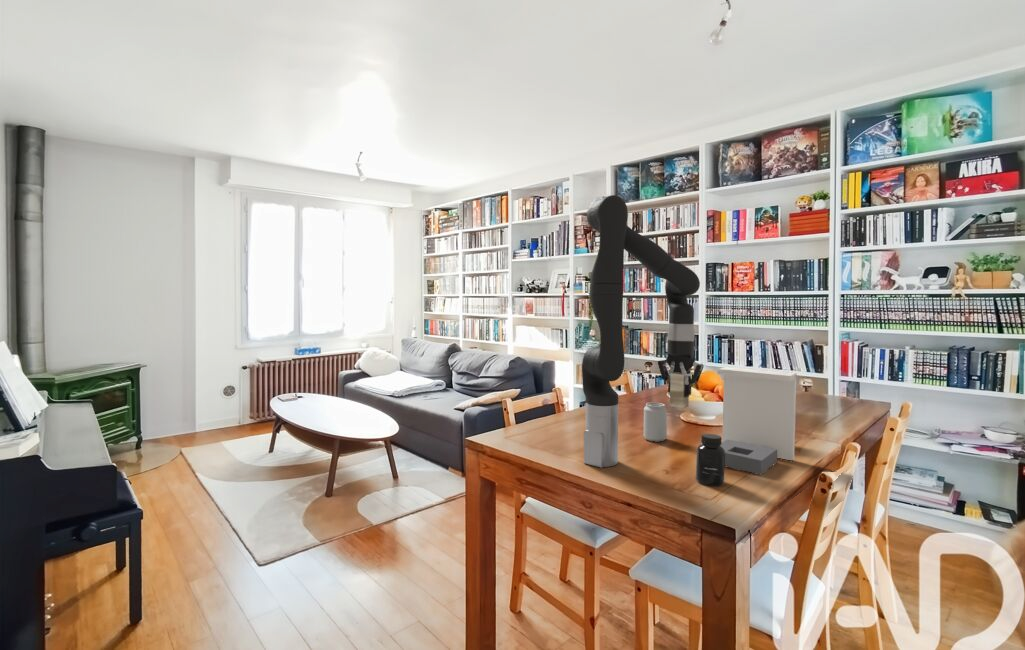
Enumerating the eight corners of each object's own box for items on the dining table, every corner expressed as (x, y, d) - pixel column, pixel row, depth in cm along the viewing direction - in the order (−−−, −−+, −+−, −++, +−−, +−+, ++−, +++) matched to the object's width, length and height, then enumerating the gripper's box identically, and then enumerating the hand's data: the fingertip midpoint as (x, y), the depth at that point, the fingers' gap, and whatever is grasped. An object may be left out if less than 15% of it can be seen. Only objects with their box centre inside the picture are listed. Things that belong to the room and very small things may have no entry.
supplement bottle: (707, 488, 124) (708, 440, 123) (690, 478, 131) (691, 433, 130) (730, 485, 126) (731, 438, 125) (712, 476, 132) (713, 431, 132)
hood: (787, 465, 140) (790, 375, 139) (716, 451, 154) (717, 368, 153) (794, 460, 145) (796, 373, 144) (724, 446, 159) (725, 366, 157)
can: (664, 436, 170) (664, 401, 170) (668, 442, 163) (669, 406, 162) (641, 435, 171) (642, 401, 170) (645, 442, 164) (645, 406, 163)
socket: (761, 475, 133) (761, 460, 133) (708, 463, 142) (709, 449, 142) (777, 462, 143) (777, 448, 143) (727, 452, 153) (727, 439, 152)
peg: (682, 408, 147) (683, 374, 147) (669, 406, 150) (670, 373, 149) (688, 406, 150) (689, 373, 150) (675, 404, 153) (676, 372, 152)
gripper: (652, 338, 151) (651, 394, 152) (698, 341, 141) (697, 401, 142) (664, 336, 157) (663, 391, 157) (709, 339, 147) (707, 397, 148)
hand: (679, 395), depth 150 cm, fingers closed on peg, 4 cm apart
